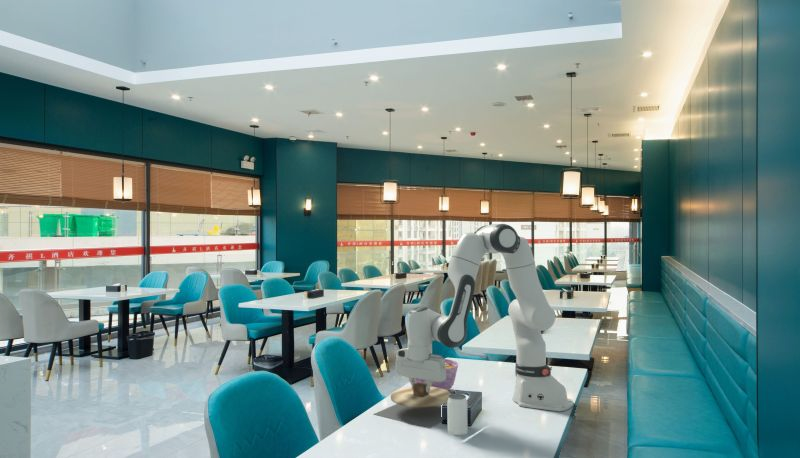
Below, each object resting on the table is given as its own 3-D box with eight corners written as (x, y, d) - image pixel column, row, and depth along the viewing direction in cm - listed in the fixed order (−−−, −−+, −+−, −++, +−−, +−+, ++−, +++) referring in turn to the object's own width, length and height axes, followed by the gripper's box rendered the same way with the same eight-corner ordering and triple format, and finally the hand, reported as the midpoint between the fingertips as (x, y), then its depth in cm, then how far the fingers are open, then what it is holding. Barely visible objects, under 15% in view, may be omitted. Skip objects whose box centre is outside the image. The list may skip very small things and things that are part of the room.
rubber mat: (465, 410, 200) (465, 408, 200) (429, 430, 180) (429, 428, 180) (411, 399, 214) (411, 397, 214) (372, 415, 195) (372, 414, 195)
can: (466, 437, 174) (466, 399, 174) (446, 436, 175) (446, 398, 175) (468, 430, 180) (468, 393, 180) (448, 429, 181) (448, 392, 181)
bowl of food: (399, 394, 221) (399, 365, 221) (426, 382, 237) (426, 355, 237) (442, 402, 209) (442, 372, 209) (467, 389, 226) (467, 361, 226)
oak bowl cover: (462, 394, 200) (462, 381, 200) (430, 411, 182) (429, 396, 182) (413, 385, 213) (413, 372, 213) (378, 400, 195) (377, 386, 195)
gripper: (449, 354, 194) (450, 392, 194) (402, 347, 206) (403, 384, 206) (439, 357, 189) (440, 397, 189) (392, 351, 201) (393, 388, 201)
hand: (420, 390), depth 197 cm, fingers closed on oak bowl cover, 4 cm apart
